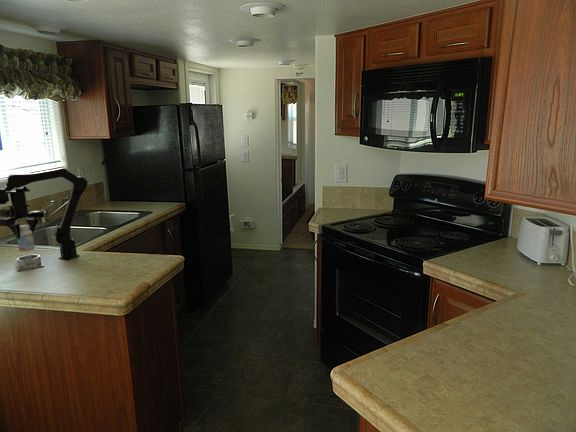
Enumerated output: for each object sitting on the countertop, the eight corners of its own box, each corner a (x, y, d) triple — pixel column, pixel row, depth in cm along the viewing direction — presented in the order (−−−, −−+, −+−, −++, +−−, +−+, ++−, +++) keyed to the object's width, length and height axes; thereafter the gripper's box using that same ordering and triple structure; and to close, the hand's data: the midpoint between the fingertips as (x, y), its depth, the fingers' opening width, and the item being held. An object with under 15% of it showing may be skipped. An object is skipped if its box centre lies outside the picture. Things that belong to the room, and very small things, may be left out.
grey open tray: (43, 266, 188) (42, 259, 188) (17, 271, 183) (16, 263, 182) (41, 259, 200) (39, 251, 199) (15, 263, 194) (14, 255, 193)
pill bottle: (16, 251, 189) (11, 226, 187) (30, 247, 195) (26, 223, 192) (24, 252, 187) (19, 228, 184) (37, 249, 192) (33, 224, 189)
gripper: (24, 198, 197) (30, 230, 200) (-15, 205, 180) (-9, 241, 183) (42, 199, 193) (48, 232, 197) (4, 206, 176) (10, 243, 180)
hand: (25, 237), depth 189 cm, fingers closed on pill bottle, 6 cm apart
